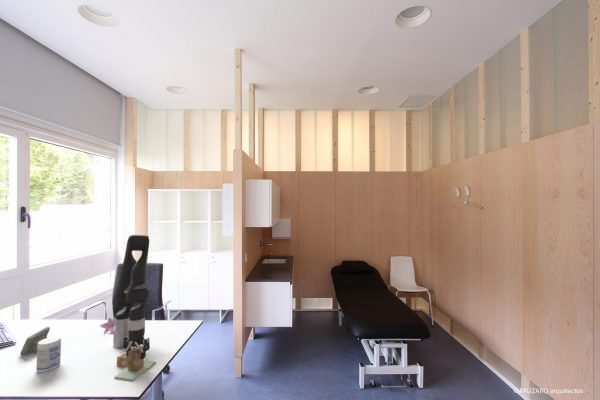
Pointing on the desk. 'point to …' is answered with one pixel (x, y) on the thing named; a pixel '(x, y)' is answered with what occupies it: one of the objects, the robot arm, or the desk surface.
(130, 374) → the pad
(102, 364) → the desk surface
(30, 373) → the desk surface
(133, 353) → the tall walnut block
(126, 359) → the short oak block
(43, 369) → the supplement tub
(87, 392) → the desk surface
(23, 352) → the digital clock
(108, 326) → the lily
